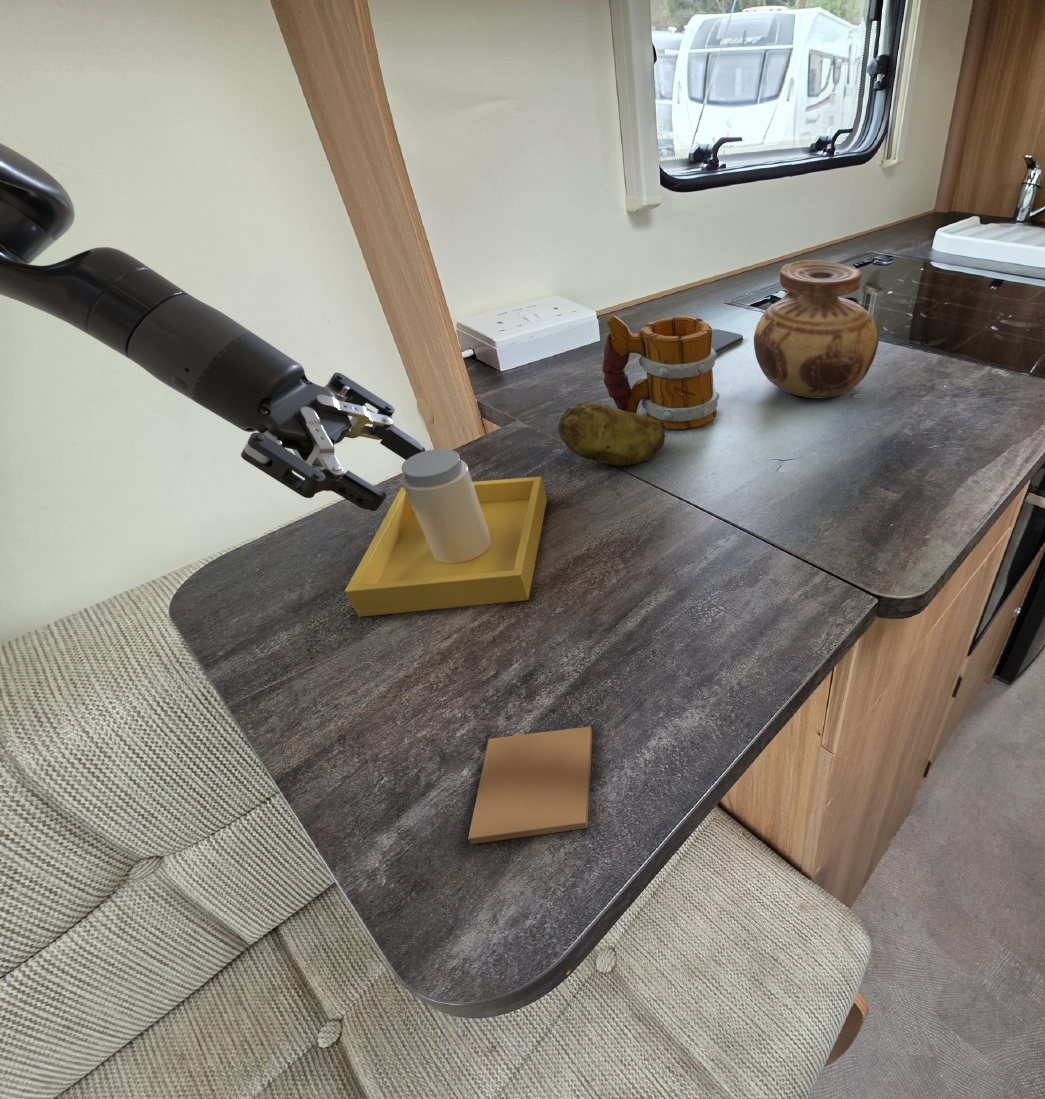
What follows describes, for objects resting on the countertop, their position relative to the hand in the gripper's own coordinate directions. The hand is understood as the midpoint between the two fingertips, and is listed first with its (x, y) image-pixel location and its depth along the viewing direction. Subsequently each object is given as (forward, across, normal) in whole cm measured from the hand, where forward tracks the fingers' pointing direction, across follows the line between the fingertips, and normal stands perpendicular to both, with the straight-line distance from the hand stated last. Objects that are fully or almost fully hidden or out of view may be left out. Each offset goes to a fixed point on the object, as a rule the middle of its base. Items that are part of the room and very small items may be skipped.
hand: (402, 479), depth 58 cm
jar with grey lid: (+8, 0, +4) cm, 9 cm away
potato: (+18, +19, -5) cm, 27 cm away
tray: (+9, 0, +4) cm, 10 cm away
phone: (+26, +60, -12) cm, 66 cm away
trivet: (+19, -27, -6) cm, 34 cm away
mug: (+22, +32, -9) cm, 40 cm away
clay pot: (+38, +42, -25) cm, 62 cm away
